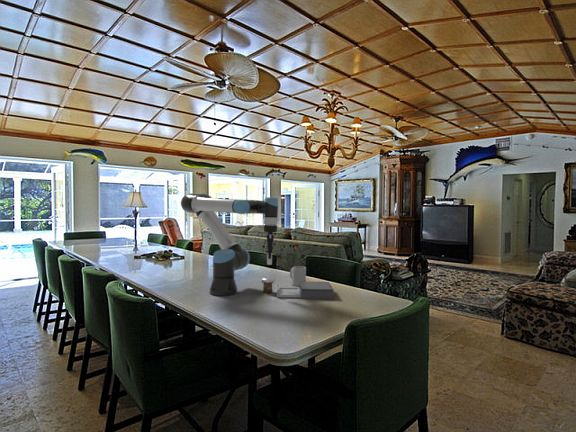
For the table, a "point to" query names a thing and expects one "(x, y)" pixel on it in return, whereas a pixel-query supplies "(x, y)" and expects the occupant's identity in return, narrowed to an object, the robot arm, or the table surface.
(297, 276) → the mug
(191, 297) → the table surface
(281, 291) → the tray
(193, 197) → the robot arm
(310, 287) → the housing
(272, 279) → the disc
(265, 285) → the brown rounded cylinder
